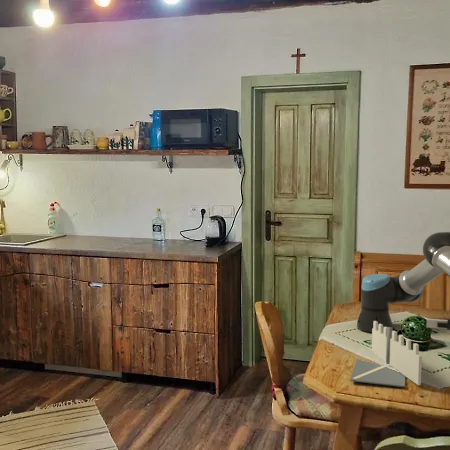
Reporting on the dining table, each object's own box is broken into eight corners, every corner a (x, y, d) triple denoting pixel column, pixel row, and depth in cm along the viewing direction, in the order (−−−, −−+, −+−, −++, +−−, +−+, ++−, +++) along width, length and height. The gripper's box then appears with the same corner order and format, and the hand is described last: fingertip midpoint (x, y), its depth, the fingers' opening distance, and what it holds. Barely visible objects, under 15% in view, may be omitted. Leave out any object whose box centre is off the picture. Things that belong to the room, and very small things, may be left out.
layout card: (359, 351, 226) (359, 349, 226) (406, 355, 220) (406, 354, 220) (350, 380, 195) (350, 379, 195) (404, 387, 189) (404, 385, 189)
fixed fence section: (392, 365, 209) (393, 328, 207) (387, 365, 208) (388, 328, 207) (375, 352, 223) (376, 318, 221) (370, 353, 222) (371, 318, 221)
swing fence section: (389, 364, 208) (390, 330, 207) (392, 364, 208) (393, 329, 207) (418, 385, 189) (419, 347, 187) (420, 385, 189) (422, 346, 187)
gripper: (505, 345, 179) (426, 339, 186) (499, 334, 191) (426, 328, 199) (506, 322, 178) (427, 316, 186) (500, 312, 190) (426, 307, 198)
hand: (426, 322), depth 192 cm, fingers closed
